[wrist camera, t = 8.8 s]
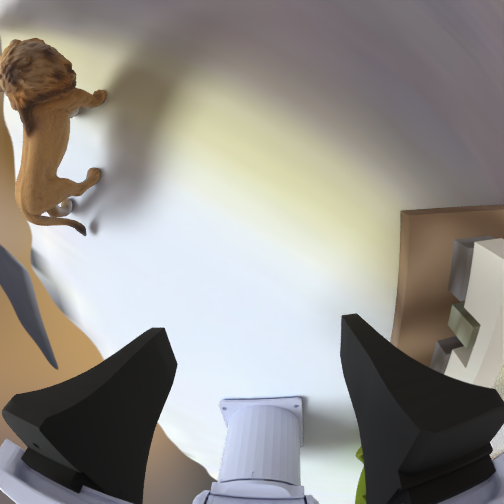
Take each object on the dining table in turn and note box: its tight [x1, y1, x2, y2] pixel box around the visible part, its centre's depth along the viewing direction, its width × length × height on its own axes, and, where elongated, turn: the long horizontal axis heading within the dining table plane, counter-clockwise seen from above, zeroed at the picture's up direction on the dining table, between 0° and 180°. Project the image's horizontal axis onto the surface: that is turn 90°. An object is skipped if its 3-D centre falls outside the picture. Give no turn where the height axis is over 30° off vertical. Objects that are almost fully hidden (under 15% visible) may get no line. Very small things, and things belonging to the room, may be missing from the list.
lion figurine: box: [0, 38, 106, 236], centre depth 14 cm, size 15×5×9 cm, turn 1°
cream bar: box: [444, 238, 504, 388], centre depth 15 cm, size 14×3×4 cm, turn 8°
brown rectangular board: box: [391, 205, 504, 374], centre depth 17 cm, size 17×12×5 cm
